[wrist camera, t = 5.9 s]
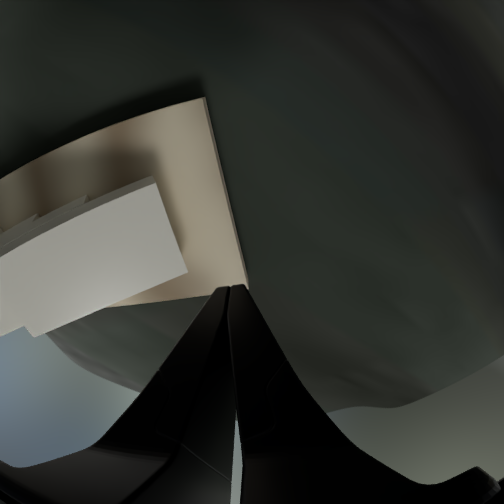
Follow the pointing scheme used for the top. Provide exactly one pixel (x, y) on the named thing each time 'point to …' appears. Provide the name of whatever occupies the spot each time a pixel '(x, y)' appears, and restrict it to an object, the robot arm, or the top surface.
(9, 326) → the domino
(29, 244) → the domino
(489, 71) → the top surface
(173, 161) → the beige flat rectangular board
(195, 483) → the robot arm
